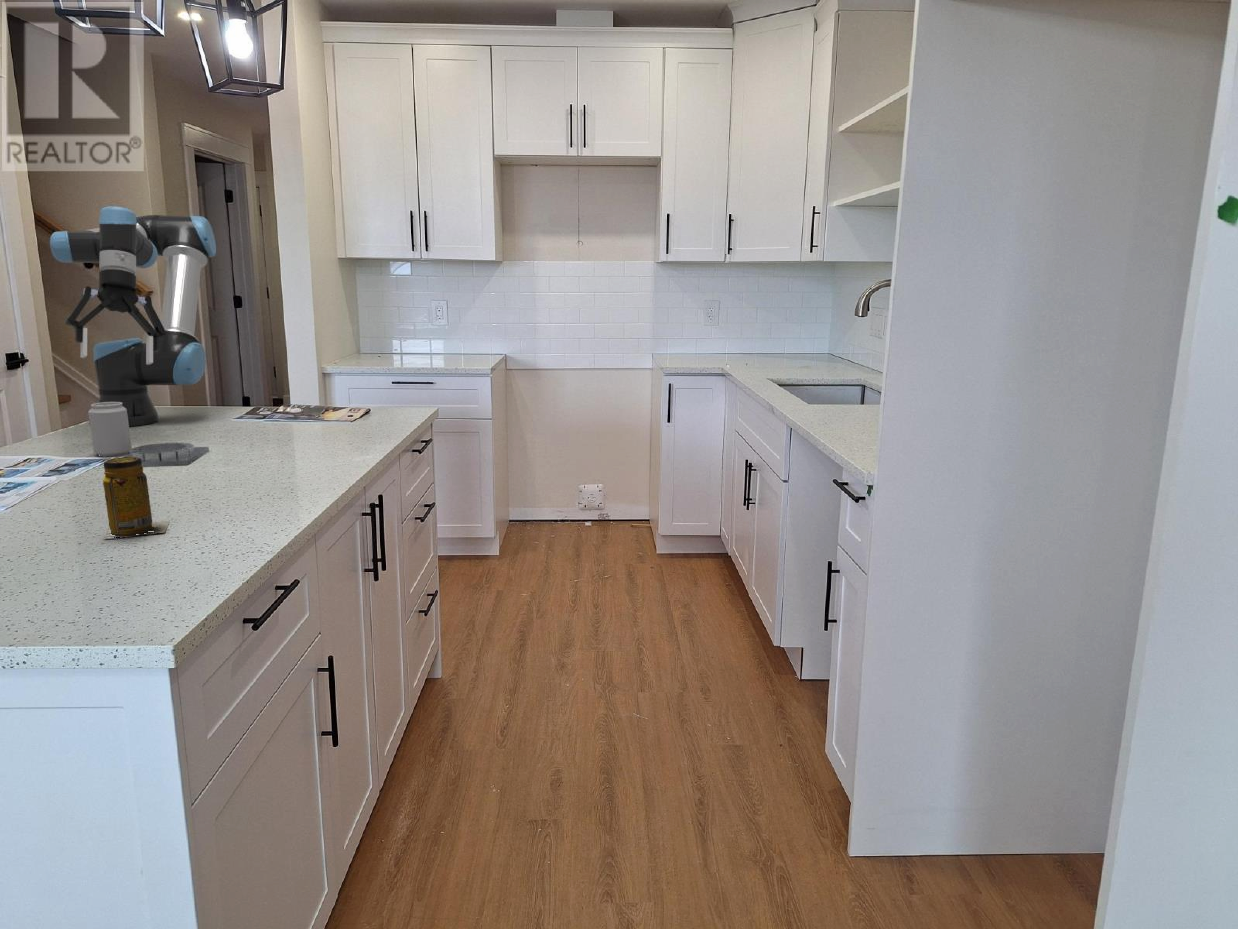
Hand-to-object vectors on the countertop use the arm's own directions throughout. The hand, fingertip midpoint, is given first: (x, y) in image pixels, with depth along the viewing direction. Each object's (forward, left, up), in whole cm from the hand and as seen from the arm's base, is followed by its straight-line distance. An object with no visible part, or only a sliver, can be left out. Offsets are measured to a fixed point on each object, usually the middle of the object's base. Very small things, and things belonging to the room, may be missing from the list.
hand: (117, 360), depth 189 cm
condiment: (+71, +28, -21) cm, 79 cm away
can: (+8, 0, -21) cm, 23 cm away
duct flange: (+15, +13, -21) cm, 29 cm away
